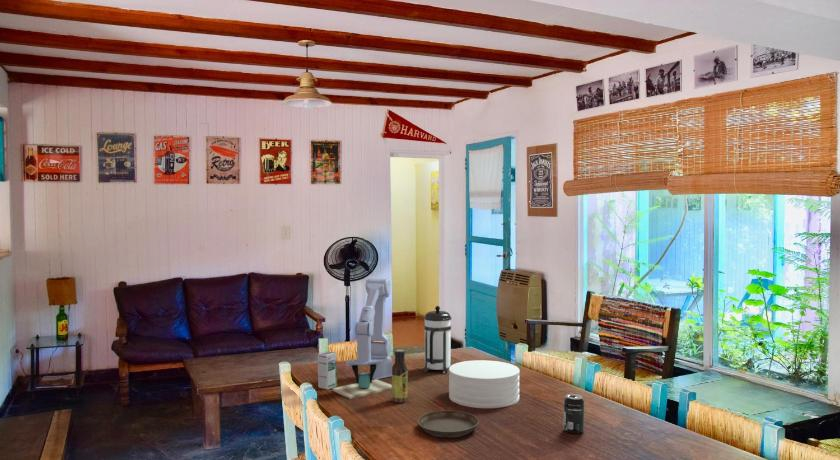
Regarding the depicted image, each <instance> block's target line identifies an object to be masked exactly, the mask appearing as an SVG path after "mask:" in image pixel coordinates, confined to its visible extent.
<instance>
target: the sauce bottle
mask: <svg viewBox="0 0 840 460" xmlns="http://www.w3.org/2000/svg"><path fill="white" fill-rule="evenodd" d="M405 354H406V351H405V349H395V350H394V362H393V363H394V364H392V376H391V385H392V390H391V401H392V402H394V403H406V402H408V394H409V393H408V387H409V386H408V384H409V381H408V379H409V378H408V376H409V373H408V372H409V371H408V368H407V364H406V360H405Z"/></svg>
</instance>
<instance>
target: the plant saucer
mask: <svg viewBox="0 0 840 460" xmlns="http://www.w3.org/2000/svg"><path fill="white" fill-rule="evenodd" d="M417 423H418V425H419V427H420V428H421V429H422V430H423V431H424V432H425V433H427V434H428V435H431V436H433V437H439V438H451V439H452V438H459V437H465V436H466V435H468V434H470V433H471V432H473V431H474V429H476V428H477V426H478V424H479V419H478V417H477V416H475V415H474V414H472V413H469V412H465V411H460V410H437V411H431V412H427V413H426V414H422V415H421V416H420V417H419V418H418V420H417Z"/></svg>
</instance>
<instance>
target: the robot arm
mask: <svg viewBox="0 0 840 460" xmlns="http://www.w3.org/2000/svg"><path fill="white" fill-rule="evenodd" d="M364 286H365V292H366V294H367V297H366V303H365V306H363V307H362V308H361V313H360V315H359V319H358V322H356V323H355V327H354V333H355V334H354V335H355V340H356V359H353V360H346V368H347V367H351V368H352V371H353V374H354V376H355V379H356V380H355V381H356V383H357V384H358V383H359V380H358V374H359V366H360V367H362V366H363V367H364V366H369V374H370V383H372V380H375V379H378V380H380V379H385V378H390V377H392V367H393V360H392V357H391V356H390V353H391V341H390V339H389V338H390V337H388V336H387V335H385V315H386V299H387V298H389V297H390V293H391V292H390V291H391V290H390V289H391V284H390V280H389V279H388V278H369V277H368V278H367V279H366V281H365V285H364Z"/></svg>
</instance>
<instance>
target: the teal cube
mask: <svg viewBox="0 0 840 460" xmlns="http://www.w3.org/2000/svg"><path fill="white" fill-rule="evenodd" d="M358 380H359V383H358V387H360V388H368V387H370V372H360V373H358Z"/></svg>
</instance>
